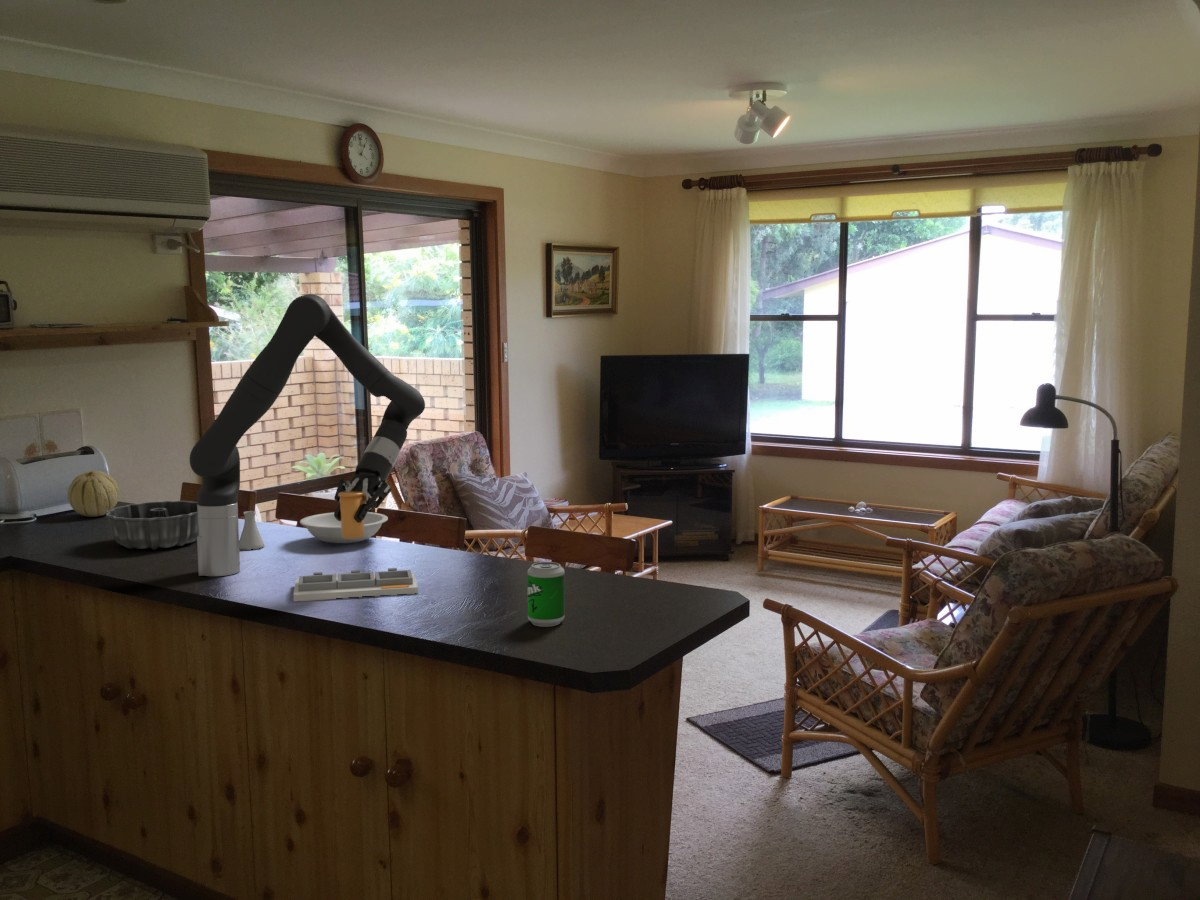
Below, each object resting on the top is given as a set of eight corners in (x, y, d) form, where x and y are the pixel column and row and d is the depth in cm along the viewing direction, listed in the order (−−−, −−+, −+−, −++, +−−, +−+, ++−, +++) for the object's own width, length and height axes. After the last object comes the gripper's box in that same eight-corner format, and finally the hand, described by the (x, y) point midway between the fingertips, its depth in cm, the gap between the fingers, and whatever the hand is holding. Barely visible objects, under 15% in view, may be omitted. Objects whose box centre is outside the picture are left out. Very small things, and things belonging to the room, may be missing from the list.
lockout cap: (340, 539, 222) (338, 495, 221) (340, 534, 227) (338, 491, 226) (366, 537, 223) (363, 494, 222) (365, 532, 229) (363, 490, 227)
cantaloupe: (113, 510, 326) (111, 465, 325) (126, 517, 315) (123, 470, 314) (63, 515, 317) (61, 469, 315) (74, 522, 306) (72, 474, 304)
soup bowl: (381, 531, 295) (380, 509, 294) (394, 547, 273) (394, 523, 272) (297, 536, 286) (296, 514, 285) (304, 554, 264) (303, 529, 263)
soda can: (564, 617, 206) (564, 560, 204) (564, 627, 198) (564, 569, 197) (528, 617, 206) (528, 560, 204) (526, 628, 198) (526, 569, 197)
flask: (235, 551, 267) (234, 514, 265) (238, 545, 273) (236, 510, 272) (264, 550, 268) (262, 513, 267) (265, 544, 275) (264, 509, 274)
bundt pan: (176, 556, 261) (174, 518, 260) (85, 552, 265) (83, 515, 264) (228, 536, 287) (227, 502, 286) (145, 532, 291) (143, 499, 290)
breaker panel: (293, 601, 217) (293, 587, 216) (296, 585, 230) (295, 572, 230) (418, 593, 224) (418, 580, 223) (413, 578, 237) (413, 566, 237)
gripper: (346, 449, 233) (313, 508, 223) (395, 451, 227) (364, 512, 217) (361, 468, 238) (330, 527, 229) (410, 471, 232) (380, 531, 223)
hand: (347, 519), depth 223 cm, fingers closed on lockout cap, 5 cm apart
